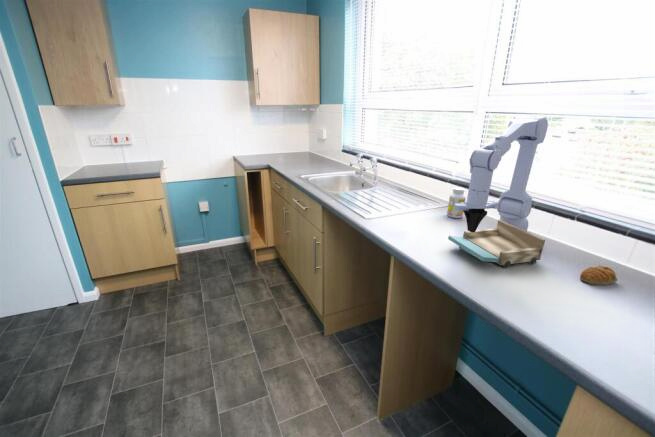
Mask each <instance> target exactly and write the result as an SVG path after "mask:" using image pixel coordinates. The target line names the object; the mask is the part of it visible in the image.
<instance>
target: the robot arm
mask: <svg viewBox="0 0 655 437" xmlns="http://www.w3.org/2000/svg"><path fill="white" fill-rule="evenodd" d="M548 128H549V122H548V119H547V117H546V116H542V117H539V116H537V117H536V116H518V115H514V116H513V117H512V118H511V119H510V120H509V122H508V125H507V129H506V130H505V131H504V133H503V134H501V135H496V136H494V138H491V140H490V141H489V142H488V143H487V144H486V145H484V146H483V147H482V148H477V149H475V150H473V152H472V153H471V155H470V158H469V166H470V168H469V173H470V179H469V180H470V181H469V185H468V192H467V197H466V199H465V202H462V203H458V204H454V209H453V210H455V211H457V212H460V211H463V215H464V216H465V219H466V220H465V221H466V226H467V231H470V232H475V231H476V230H478V227H479V225H480V224H481V222H482V220H483V219H484V218H485V217H486V216H488V211H487V210H488V209H494V210H497V213H498V215H499V220H502V221H504V222H506V223H508V224H511V225H513V226H515V227H517V228H520V229H522V230H524V231H527V232H528V230H529V229H528V228H529V219H528V216H530V214H531V211H532V207H533V206H532V203H533V197H532V196H531V195H530V194H529V193H528V192H527V190H526V189H527V185H528V182H529V178H530V174H531V171H532V167H533V163H534V159H535V155H536V152H537V148H538V145H540V144H542V143H544V141H545V138H546V136H547V132H548ZM514 142H518V144H519V150H518V152H517V153H518V154H517V158H516V162H515V165H514V170H513V174H512V179H511V181H510V182H511V183H510V184H509V185H510V186H509V189H508V190H505V191H503V192H502V193H500V196H499V199H498V200H497V201H495V200H490V201H489V195H490V191H491V190H490V189H491V185H492V179H493V175H494V171H495V170H496V169H497V168H498V167H499V164H500V162H501V160H502V157H503V156H505V155H506V153H507V152H509V150H510V149H511V147H512V143H514Z"/></svg>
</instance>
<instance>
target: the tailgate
mask: <svg viewBox="0 0 655 437" xmlns="http://www.w3.org/2000/svg"><path fill="white" fill-rule="evenodd" d="M447 240H449V241H450V242H452V243H453V244H456V245H457V246H458V248H459V249H461V250H462V251H463V252H465V253H466V254H469V255H470V256H474V257H475V258H477V259H478V260H480V261H482V262H493V263H496V262H498V260H499V258H497V257H496V256H494V255H492V254H490V253H489V252H487V251H485V250H484V249H482V248H480V247H479V246H477V245H475V244H473V243H472V242H470V241H468V240H467V239H465V238H463V236H454V235H449V236H448V238H447Z"/></svg>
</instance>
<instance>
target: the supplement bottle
mask: <svg viewBox="0 0 655 437" xmlns="http://www.w3.org/2000/svg"><path fill="white" fill-rule="evenodd" d="M452 191H453V192H452V193H450V194H449V199H448V205H447V211H446V213H447V214H446V215H447V216H448V217H450V218H452V219H453V218H454V219H460V218H463V216H464V212H463V211H460V212H457V211H455V210H453V209H454V204H458V203H462V202H465V201H466V200H467V197H466V194H465V188H464V187H458V186H457V187H453V188H452Z"/></svg>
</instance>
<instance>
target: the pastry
mask: <svg viewBox="0 0 655 437" xmlns="http://www.w3.org/2000/svg"><path fill="white" fill-rule="evenodd" d="M579 279H580V280H581V281H584V282H585V283H588V284H590V285H593V286H607V285H612V284H615V283H616V282H617V281H618V278H617V275H616V273H615V271H614V270H613V268H611V267H609V266H604V265H603V266H602V265H598V266H590V267H588V268H585V269H584V270H583V271H582V272H581V274H580V276H579Z"/></svg>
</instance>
